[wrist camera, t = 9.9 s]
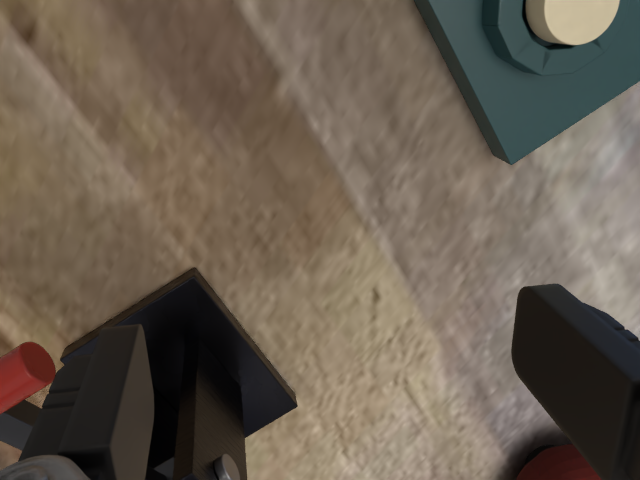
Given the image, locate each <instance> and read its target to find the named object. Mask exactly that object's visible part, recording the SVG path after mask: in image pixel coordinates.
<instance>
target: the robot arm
mask: <svg viewBox="0 0 640 480" xmlns="http://www.w3.org/2000/svg"><path fill="white" fill-rule="evenodd" d="M511 351H512V361H513V365H514V368H515V371H516V373H517V375H518V377H519V378H520V379H521V381H522V382H523V383H524V384H525V386H526V387H527V388H528V389H529V390H530V392H531V393H532V394H533V395H534V397H535V398H536V399H537V400H538V402H539V403H540V404H541V405H542V407H543V408H544V409H545V410H546V411H547V413H548V414H549V415H550V416H551V418H552V419H553V420H554V421H555V423H556V424H557V425H558V426H559V428H560V429H561V430H562V431H563V432H564V434H565V435H566V436H567V437H568V439H569V440H570V441H571V442H572V444H573V445H574V446H575V447H576V449H577V450H578V451H579V452H580V454H581V455H582V456H583V457H584V458H585V460H586V461H587V462H588V463H589V465H590V466H591V467H592V468H593V470H594V471H595V472H596V473H597V475H598V476H599V477H600V478H601V479H602V480H640V341H639V340H638V337H636V336H635V335H634V334H633V333H631V332H630V331H629V330H625V329H624V326H622V325H621V324H620V323H619V322H617V321H616V320H615V319H614V318H612V317H611V316H610V315H609V314H607V313H605V312H603V311H601V310H598V309H596V308H594V307H592V306H590V305H587V304H585V303H582V302H581V301H580V300H578V299H577V298H576V297H575V296H574V295H572V294H571V293H570V292H569V291H567V290H566V289H565V288H564V287H563V286H561V285H559V284H547V285H537V286H527V287H523V288H522V289H521V290H520V292H519V294H518V298H517V306H516V315H515V323H514V332H513V340H512V350H511ZM153 422H154V393H153V386H152V379H151V373H150V367H149V360H148V354H147V348H146V341H145V335H144V330H143V327H142V325H141V324H136V325H126V326H116V327H106V328H102V329H101V331H100V334H99V337H98V339H97V342H96V345H95V348H94V351H93V353H92V354H87V355H77V356H74V357H73V358H72V359H71V360H70V361H69V362H68V363H67V364H65V365H64V366H63V367H62V368H61V369H60V370H59V371H58V372H57V373H56V375H55V378H54V380H53V382H52V385H51V387H50V389H49V394H47V396H46V398H45V401H44V403H43V405H42V410H40V412H39V414H38V417H37V419H36V421H35V424H34V426H33V428H32V431H31V433H30V435H29V437H28V440H27V442H26V444H25V447H24V449H23V451H22V453H21V456H20V458H19V460H18V462H16V463H14V464H12V465H10V466H8V467H6V468H5V469H3V470H1V471H0V480H145V475H146V468H147V462H148V455H149V449H150V442H151V436H152V429H153Z"/></svg>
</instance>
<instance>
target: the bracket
mask: <svg viewBox="0 0 640 480" xmlns="http://www.w3.org/2000/svg"><path fill="white" fill-rule="evenodd" d="M136 324H141V325H142V327H143V330H144V335H145V341H146V348H147V354H148V360H149V367H150V373H151V379H152V386H153V393H154V422H153V429H152V436H151V442H150V449H149V455H148V462H147V466H149V467H151V468H155V467H157V466H158V465H160V464H162V463H163V462H165V461H167V460H168V459H170V458H172V457H175V458H174V469H173V480H247V469H246V453H245V438H246V437H248V436H249V435H251V434H253V433H254V432H256V431H258V430H259V429H261V428H263V427H264V426H266V425H268V424H269V423H271V422H273V421H274V420H276V419H278V418H279V417H281V416H283V415H284V414H286V413H288V412H289V411H291V410H293V409H294V408H296V407H297V401H296V396H295V394H294V393H293V391H292V390H291V389H290V388H289V386H288V385H287V384H286V383H285V381H284V380H283V379H282V377H281V376H280V375H279V374H278V372H277V371H276V370H275V369H274V367H273V366H272V365H271V363H270V362H269V361H268V360H267V358H266V357H265V356H264V355H263V353H262V352H261V351H260V350H259V348H258V347H257V346H256V344H255V343H254V342H253V341H252V339H251V338H250V337H249V336H248V334H247V333H246V332H245V330H244V329H243V328H242V327H241V325H240V324H239V323H238V322H237V320H236V319H235V318H234V317H233V315H232V314H231V313H230V311H229V310H228V309H227V308H226V306H225V305H224V304H223V303H222V301H221V300H220V299H219V297H218V296H217V295H216V294H215V292H214V291H213V290H212V289H211V287H210V286H209V285H208V284H207V282H206V281H205V280H204V278H203V277H202V276H201V275H200V273H199V272H198V271H197V270H196V268H193V269H191V270H190V271H188V272H187V273H185V274H183V275H182V276H180V277H179V278H177V279H175V280H174V281H172V282H171V283H169V284H167V285H166V286H164V287H163V288H161V289H159V290H158V291H156V292H155V293H153V294H151V295H150V296H148V297H147V298H145V299H143V300H142V301H140V302H139V303H137V304H135V305H134V306H132V307H131V308H129V309H127V310H126V311H124V312H123V313H121V314H119V315H118V316H116V317H115V318H113V319H111V320H110V321H108V322H107V323H105V324H103V325H102V326H100V327H99V328H97V329H95V330H94V331H92V332H91V333H89V334H87V335H86V336H84V337H83V338H81V339H79V340H78V341H76V342H75V343H73V344H71V345H70V346H68V347H67V348H65V349H64V352H63V354H62V356H61V358H60V361H61V362H62V363H63V364H64V365H65V364H67V363H68V362H69V361H70V360H71V359H72V358H73V357H74V356H77V355H87V354H92V353H93V351H94V348H95V345H96V342H97V339H98V337H99V334H100V331H101V329H102V328H106V327H116V326H126V325H136Z"/></svg>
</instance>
